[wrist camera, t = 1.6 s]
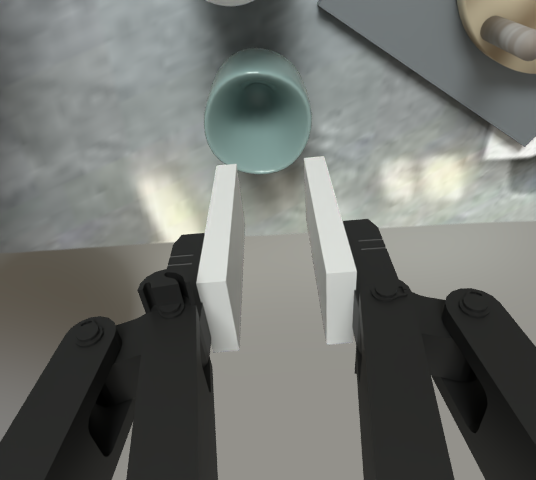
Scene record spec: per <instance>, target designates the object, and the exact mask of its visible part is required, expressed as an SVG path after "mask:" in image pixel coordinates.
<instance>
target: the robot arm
mask: <svg viewBox="0 0 536 480" xmlns="http://www.w3.org/2000/svg"><path fill="white" fill-rule="evenodd" d="M304 177H305V204H306V221H307V227H308V234H309V240H310V246H311V252H312V258H313V264H314V270H315V276H316V282H317V289H318V295H319V301H320V307H321V313H322V319H323V325H324V331H325V337H326V344H327V345H329V344H344V343H353V334H354V336H355V341H356V362H355V373H356V374H357V382H358V399H359V414H360V429H361V444H362V459H363V474H364V480H454V476H453V471H452V467H451V463H450V458H449V454H448V449H447V445H446V441H445V436H444V432H443V427H442V423H441V418H440V414H439V410H438V405H437V401H436V396H435V392H434V388H433V383H432V379H431V375H432V378H433V380H434V382H435V384H436V385H437V387H438V389H439V391H440V393H441V395H442V397H443V399H444V401H445V403H446V405H447V406H448V408H449V410H450V412H451V414H452V416H453V418H454V420H455V422H456V424H457V426H458V428H459V430H460V432H461V433H462V435H463V437H464V439H465V441H466V443H467V445H468V447H469V449H470V451H471V453H472V454H473V457H474V458H475V460H476V462H477V464H478V466H479V468H480V470H481V472H482V474H483V476H484V478H485V480H536V347H535V345H534V344H533V343H532V342H531V340H530V339H529V338H528V337H527V335H526V334H525V333H524V332H523V331H522V329H521V328H520V327H519V326H518V324H517V323H516V322H515V321H514V319H513V318H512V317H511V316H510V314H509V313H508V312H507V311H506V310H505V308H504V307H503V306H502V305H501V303H500V302H499V301H497V300H496V299H495V298H494V297H493V296H491V295H489V294H487V293H485V292H483V291H480V290H476V289H472V288H470V289H469V288H467V289H458V290H455V291H452V292H451V293H450V294H449V295H448V296H447V297H446V300H441V299H435V298H429V297H424V296H420V295H418V294H415V293H413V292H411V290H410V289H409V287H408V286H407V285H406V284H405V283H404V282H402V281H401V280H399V279H398V277H397V274H396V272H395V269H394V267H393V264H392V262H391V259H390V257H389V254H388V252H387V249H386V248H385V244H384V242H383V240H382V236H381V234H380V231H379V229H378V227H377V226H376V225H374V224H373V223H372V222H371V221H370V220H369V219H362V220H349V221H342V218H341V214H340V211H339V207H338V204H337V200H336V197H335V193H334V189H333V186H332V182H331V179H330V175H329V172H328V168H327V165H326V161H325V158H324V156H322V157H310V158H304ZM244 236H245V219H244V212H243V205H242V198H241V191H240V184H239V177H238V170H237V164H228V165H217V167H216V172H215V178H214V184H213V190H212V195H211V201H210V207H209V213H208V218H207V224H206V230H205V233H200V234H187V235H181V237H180V238H179V239H178V240H177V241H176V242H175V243H174V245H173V248H172V252H171V258H170V259H169V263H168V267H167V269H165V270H161V271H158V272H155V273H153V274H151V275H150V276H148V277H146V279H144V281H142V282H141V283H140V286H139V288H138V293H139V295H140V298H141V301H142V304H143V307H144V309H145V312H146V314H145V315H143V316H141V317H139V318H137V319H135V320H131V321H128V322H126V323H122V324H119V325H115V323H114V322H113V321H112V320H111V319H109V318H106V317H101V316H100V317H91V318H88V319H86V320H83V321H81V322H79V323H78V324H76V325H75V326H73V327H72V328H71V329H70V330H69V331H68V333H67V334H66V335H65V337H64V338H63V340H62V341H61V343H60V345H59V346H58V348H57V350H56V351H55V353H54V355H53V356H52V358H51V359H50V361H49V363H48V365H47V366H46V368H45V369H44V371H43V373H42V374H41V376H40V378H39V379H38V381H37V383H36V384H35V386H34V388H33V389H32V391H31V392H30V394H29V396H28V397H27V399H26V401H25V403H24V404H23V406H22V407H21V409H20V411H19V412H18V414H17V416H16V417H15V419H14V420H13V422H12V424H11V426H10V427H9V429H8V430H7V432H6V434H5V436H4V437H3V439H2V440H1V442H0V480H111V479H112V477H113V474H114V471H115V469H116V466H117V463H118V460H119V458H120V455H121V452H122V450H123V447H124V444H125V441H126V439H127V436H128V433H129V431H130V428H131V425H132V422H133V428H132V437H131V446H130V454H129V463H128V471H127V479H126V480H218V474H217V453H216V436H215V435H216V433H215V414H214V393H213V373H212V364H211V360H210V356H209V355H210V346H211V345H212V349H213V352H214V353H215V352H229V351H239V348H240V326H241V303H242V281H243V279H242V278H243V258H244Z"/></svg>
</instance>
